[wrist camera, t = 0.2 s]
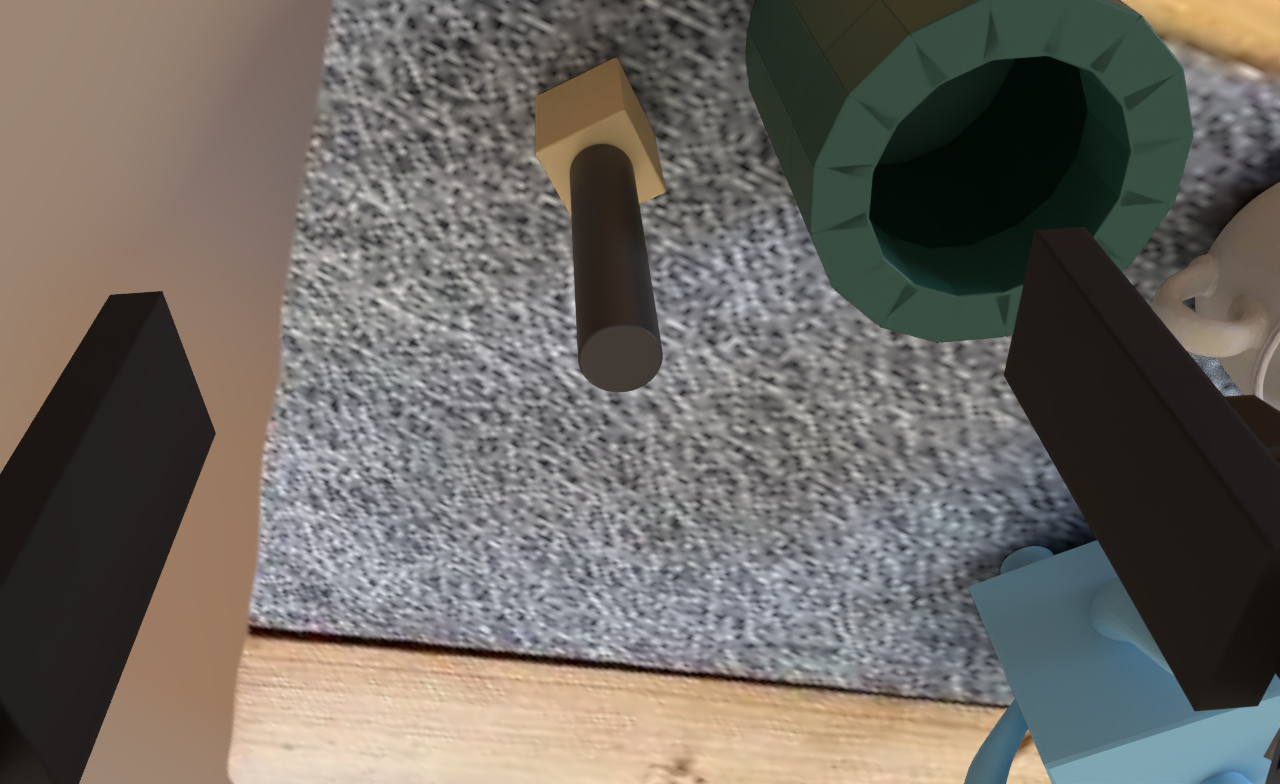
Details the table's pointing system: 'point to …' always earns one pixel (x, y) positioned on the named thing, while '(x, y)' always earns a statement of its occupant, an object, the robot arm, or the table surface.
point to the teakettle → (1102, 685)
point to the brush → (605, 219)
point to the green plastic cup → (965, 143)
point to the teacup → (1234, 299)
